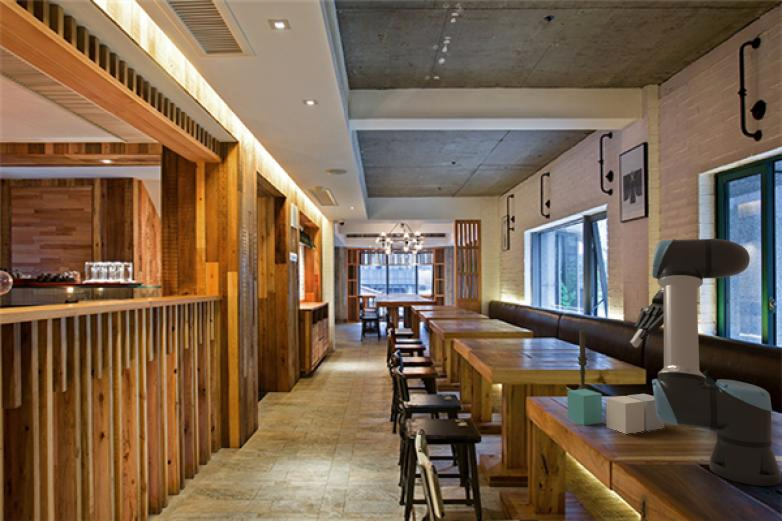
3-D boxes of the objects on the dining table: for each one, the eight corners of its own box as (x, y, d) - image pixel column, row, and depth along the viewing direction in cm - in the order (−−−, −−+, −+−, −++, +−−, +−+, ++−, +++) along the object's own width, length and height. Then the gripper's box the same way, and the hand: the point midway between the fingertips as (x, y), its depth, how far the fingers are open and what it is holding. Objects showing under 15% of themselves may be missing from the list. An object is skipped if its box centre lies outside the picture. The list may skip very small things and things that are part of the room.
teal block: (585, 416, 183) (585, 388, 183) (602, 422, 175) (601, 393, 175) (567, 419, 180) (567, 390, 180) (583, 425, 172) (583, 395, 173)
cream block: (624, 425, 172) (624, 395, 173) (644, 432, 165) (643, 401, 165) (606, 427, 170) (606, 397, 170) (625, 434, 162) (625, 403, 162)
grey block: (644, 422, 176) (644, 393, 176) (664, 429, 168) (664, 398, 169) (627, 424, 173) (626, 395, 173) (646, 431, 165) (646, 401, 166)
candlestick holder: (599, 404, 199) (598, 328, 200) (589, 409, 193) (589, 330, 193) (576, 400, 205) (575, 326, 206) (566, 404, 199) (566, 328, 200)
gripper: (687, 305, 184) (654, 354, 178) (657, 303, 196) (625, 349, 190) (677, 291, 182) (643, 339, 176) (646, 290, 195) (614, 335, 188)
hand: (633, 344), depth 183 cm, fingers closed
